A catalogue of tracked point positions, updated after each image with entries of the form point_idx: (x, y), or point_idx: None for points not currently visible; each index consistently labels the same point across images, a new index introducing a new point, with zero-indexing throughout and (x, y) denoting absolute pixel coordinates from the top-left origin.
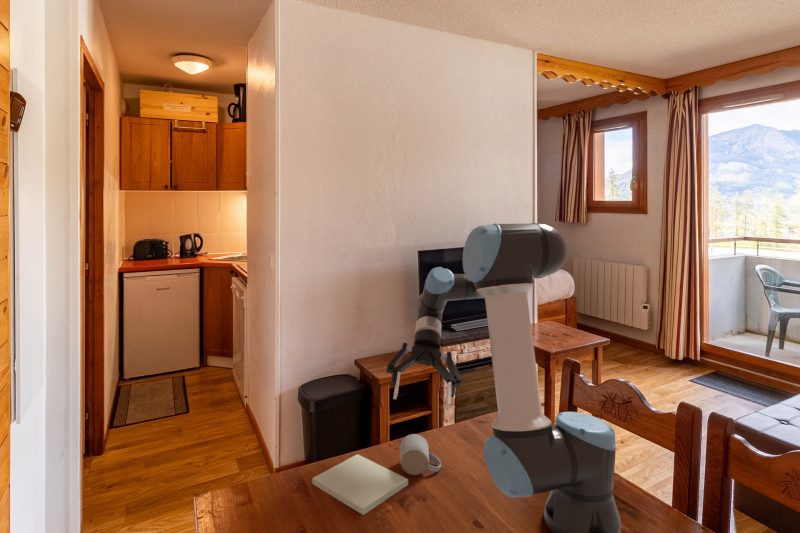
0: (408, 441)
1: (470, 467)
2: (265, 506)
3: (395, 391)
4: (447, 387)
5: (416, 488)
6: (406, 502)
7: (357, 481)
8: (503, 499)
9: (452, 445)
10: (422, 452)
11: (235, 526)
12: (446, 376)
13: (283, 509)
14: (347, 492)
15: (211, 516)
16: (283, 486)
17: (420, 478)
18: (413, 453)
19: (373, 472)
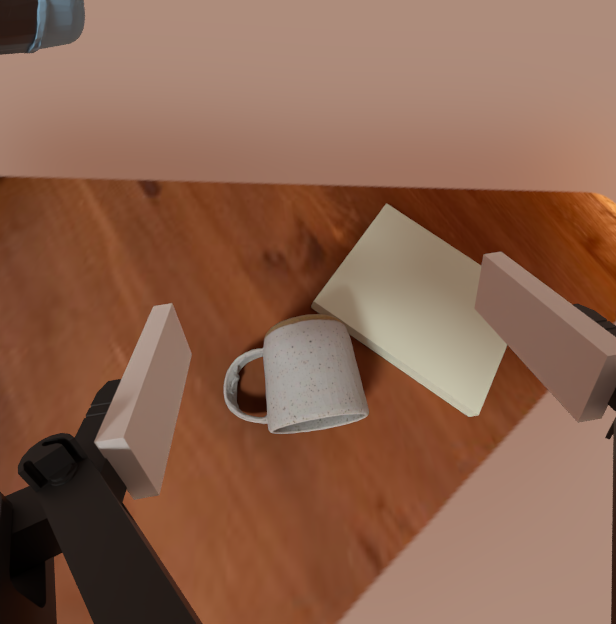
0: (342, 370)
1: None
2: (554, 234)
3: (506, 256)
4: (151, 442)
5: (288, 295)
6: (305, 247)
7: (429, 288)
8: (62, 260)
9: (175, 565)
10: (286, 324)
11: (562, 191)
12: (134, 526)
13: (521, 227)
14: (434, 249)
15: (611, 212)
16: (564, 291)
17: None
18: (314, 314)
19: (405, 325)
